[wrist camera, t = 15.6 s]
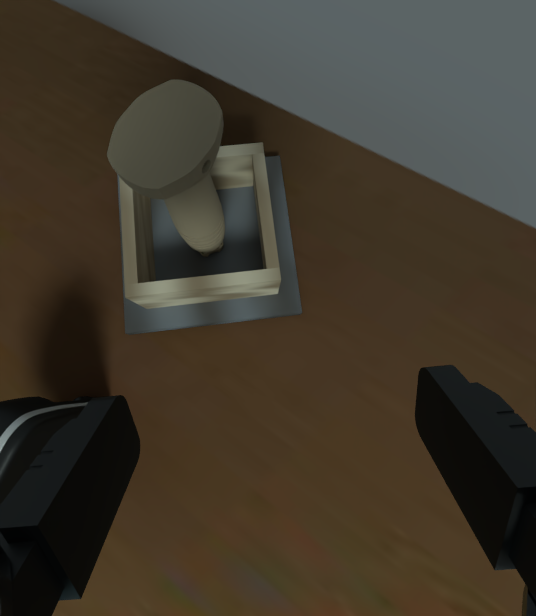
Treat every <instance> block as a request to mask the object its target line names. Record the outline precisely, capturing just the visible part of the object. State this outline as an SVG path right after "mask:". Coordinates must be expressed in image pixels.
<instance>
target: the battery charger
mask: <svg viewBox="0 0 536 616" xmlns="http://www.w3.org/2000/svg"><path fill="white" fill-rule="evenodd" d="M92 398H93V397H87V396H84V397H78V398H76V399H75V400H74V401H66V402H52V401H50V400H47V399H45V398H42V397H26V398H18V399H12V400H7V401H1V402H0V505H1V503H2V502H3V501H4V499H5V498H6V497H7V495H8V494H9V493H10V491H11V490H12V489H13V487H14V486H15V485H16V483H17V482H18V481H19V479H20V478H21V477H22V475H23V474H24V473H25V472H26V470H29V468H30V467H29V466H30V465H31V464H32V462H33V461H34V460H35V458H36V457H37V456H38V455H40V454H41V450H42V449H43V448H44V446H45V445H46V444H47V442H48V441H49V440H50V438H51V437H52V436H53V434H55V433H56V432H57V431H58V430H59V429H61V428H62V427H63V426H64V425H66V424H67V423H68V422H69V421H70V420H72V419H77V417H78V416H79V414H80V413H81V412H82V410H83V409H84V407H85V406H86V405H87V403H88V402H89V401H90V400H91V399H92Z"/></svg>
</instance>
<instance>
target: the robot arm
mask: <svg viewBox="0 0 536 616" xmlns="http://www.w3.org/2000/svg"><path fill="white" fill-rule="evenodd" d="M415 420H416V426H417V429H418V432H419V435H420V437H421V439H422V441H423V443H424V444H425V446H426V448H427V450H428V452H429V453H430V455H431V457H432V459H433V460H434V462H435V464H436V466H437V468H438V469H439V471H440V473H441V475H442V477H443V478H444V480H445V482H446V484H447V486H448V487H449V489H450V491H451V493H452V495H453V496H454V498H455V500H456V502H457V504H458V505H459V507H460V509H461V511H462V512H463V514H464V516H465V518H466V520H467V521H468V523H469V525H470V527H471V529H472V530H473V532H474V534H475V536H476V538H477V539H478V541H479V543H480V545H481V547H482V548H483V550H484V552H485V554H486V556H487V557H488V559H489V561H490V563H491V564H492V566H493V568H494V570H505V569H517V571H518V573H519V574H520V576H521V577H522V579H523V581H524V582H525V587H524V591H523V602H522V616H536V432H535V431H534V430H533V429H532V428H531V427H530V428H528V426H527V423H526V422H525V421H524V420H523V419H522V418H521V417H520V416H519V415H518V414H515V413H514V410H513V409H512V408H511V407H510V406H509V405H508V404H507V403H506V402H505V401H504V400H503V399H502V398H501V397H500V396H499V395H498V394H496V393H495V392H493V391H491V390H489V389H488V388H486V387H484V386H483V385H481V384H479V383H469V382H468V381H467V379H466V378H465V377H464V376H463V375H462V374H461V373H460V372H459V371H458V370H457V368H456V367H454V366H453V365H445V366H435V367H424V368H421V369H420V371H419V375H418V385H417V396H416V408H415ZM139 454H140V439H139V435H138V432H137V429H136V426H135V424H134V421H133V418H132V415H131V412H130V409H129V406H128V403H127V401H126V399H125V397H124V396H122V395H118V396H107V397H97V398H92V399H91V400H90V401H89V402H88V403H87V405H86V406H85V407H84V409H83V410H82V412H81V413H80V414H79V416H78V417H77V419H72V420H70V421H69V422H68V423H67V424H66V425H64V426H63V427H62V428H61V429H59V430H58V431H57V432H56V433H55V434H53V436H52V437H51V438H50V440H49V441H48V442H47V444H46V445H45V446H44V448H43V449H42V450H41V454H40V455H38V456H37V457H36V458H35V460H34V461H33V462H32V464H31V465H30V466H29V467H30V468H29V470H26V472H25V473H24V474H23V475H22V477H21V478H20V479H19V481H18V482H17V483H16V485H15V486H14V487H13V489H12V490H11V491H10V493H9V494H8V495H7V497H6V498H5V499H4V501H3V502H2V503H1V505H0V616H52V614H53V612H54V610H55V607H56V605H57V603H58V601H59V600H72V599H81V597H82V595H83V593H84V590H85V588H86V585H87V583H88V580H89V578H90V576H91V573H92V571H93V568H94V566H95V564H96V561H97V559H98V556H99V554H100V551H101V549H102V547H103V544H104V542H105V539H106V537H107V535H108V532H109V530H110V527H111V525H112V522H113V520H114V518H115V515H116V513H117V510H118V508H119V505H120V503H121V501H122V498H123V496H124V493H125V491H126V489H127V486H128V484H129V481H130V479H131V476H132V474H133V472H134V469H135V467H136V464H137V462H138V459H139Z"/></svg>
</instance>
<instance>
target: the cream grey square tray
mask: <svg viewBox="0 0 536 616" xmlns="http://www.w3.org/2000/svg"><path fill="white" fill-rule="evenodd" d="M210 175H211V178H212V181H213V184H214V186H215V189H216V192H217V194H218V197H219V200H220V203H221V206H222V210H223V214H224V221H225V235H224V239H223V249H222V250H221V251H220V252H214V253H212V254H210V255H209V256H208V257H204V256H202V255H201V253H200V252H198V251H196V250H193V249H192V248H191V247H190V246H189V245H188V244H187V243H186V241H185V240H184V239H183V238H182V237H181V235H180V234H179V232H178V231H177V229H176V227H175V225H174V223H173V221H172V219H171V216H170V214H169V211H168V209H167V207H166V204H165V202H164V200H163V199H152V198H149V197H146V196H143V195H141V194H139V193H138V192H136V191H134V190H133V189H132V188H130V187H129V186H128V185H127V184H126V183H125V182H124V181H123V180H122V179H121V178H120V177H119V175H118V195H119V215H120V235H121V255H122V276H123V296H124V316H125V334H129V335H131V334H139V333H147V332H156V331H164V330H173V329H181V328H190V327H198V326H207V325H215V324H224V323H232V322H240V321H249V320H257V319H266V318H274V317H283V316H291V315H300V314H301V313H302V308H301V301H300V294H299V287H298V280H297V273H296V266H295V259H294V252H293V245H292V238H291V231H290V224H289V217H288V210H287V203H286V196H285V189H284V182H283V175H282V168H281V161H280V156H271V157H265V156H264V148H263V142H261V143H251V144H240V145H229V146H220V148H219V151H218V154H217V157H216V159H215V162H214V164H213V167H212V168H211V170H210Z"/></svg>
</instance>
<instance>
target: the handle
mask: <svg viewBox="0 0 536 616" xmlns="http://www.w3.org/2000/svg"><path fill="white" fill-rule="evenodd" d="M223 127H224V122H223V114H222V110H221V108H220V105H219V104H218V102H217V100H216V99H215V98H214V97H213V96H212V95H211V94H210V93H209V92H207V91H206V90H205V89H203V88H202V87H200V86H198V85H196V84H194V83H191V82H188V81H184V80H170V81H167V82H165V83H163V84H161V85H158V86H156V87H154V88H152V89H150V90H148V91H147V92H145V93H143V94H142V95H140V96H139V97H138V98H137V99H136V100H135V101H134V102H133V103H132V104H131V105H130V106H129V108H128V109H127V110H126V111H125V112H124V113H123V114H122V116H121V117H120V118H119V120H118V121H117V123H116V125H115V127H114V130H113V133H112V136H111V140H110V144H109V148H108V152H107V156H108V159H109V162H110V163H111V165H112V167H113V169H114V170H115V171H116V173H117V174H118V175H119V177H120V178H121V179H122V180H123V181H124V182H125V183H126V184H127V185H128V186H129V187H130V188H132V189H133V190H134V191H136V192H138V193H139V194H141V195H143V196H146V197H149V198H152V199H163V200H164V202H165V204H166V207H167V209H168V211H169V214H170V216H171V219H172V221H173V223H174V225H175V227H176V229H177V231H178V232H179V234H180V235H181V237H182V238H183V239H184V240H185V241H186V243H187V244H188V245H189V246H190V247H191V248H192V249H193V250H196V251H198V252H200V253H201V255H202V256H204V257H208V256H209V255H210V254H212V253H214V252H220V251H221V250H222V249H223V239H224V235H225V221H224V214H223V210H222V206H221V203H220V200H219V197H218V194H217V192H216V189H215V186H214V184H213V181H212V178H211V175H210V170H211V168H212V167H213V164H214V162H215V159H216V157H217V154H218V151H219V148H220V144H221V139H222V133H223Z"/></svg>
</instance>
